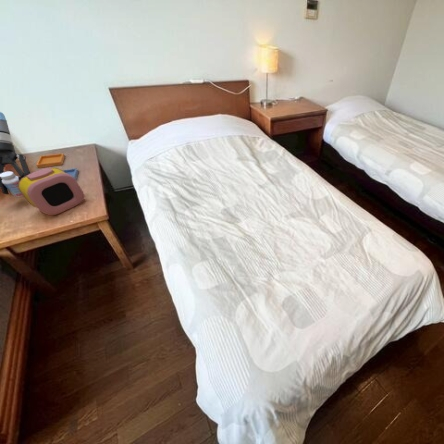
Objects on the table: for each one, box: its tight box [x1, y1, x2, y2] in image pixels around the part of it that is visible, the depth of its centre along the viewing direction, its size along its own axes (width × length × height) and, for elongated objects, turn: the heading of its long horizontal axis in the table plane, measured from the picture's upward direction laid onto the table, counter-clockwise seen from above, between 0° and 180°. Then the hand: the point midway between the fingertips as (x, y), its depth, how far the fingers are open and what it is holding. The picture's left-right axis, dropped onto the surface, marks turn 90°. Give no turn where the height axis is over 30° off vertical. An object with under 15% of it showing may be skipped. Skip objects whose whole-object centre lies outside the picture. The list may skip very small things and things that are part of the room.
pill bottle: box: [0, 170, 24, 198], centre depth 116 cm, size 6×6×11 cm
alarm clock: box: [18, 167, 85, 216], centre depth 117 cm, size 18×11×19 cm, turn 151°
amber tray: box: [35, 152, 66, 169], centre depth 150 cm, size 11×11×2 cm
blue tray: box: [62, 167, 79, 181], centre depth 139 cm, size 11×11×2 cm
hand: (15, 192), depth 116 cm, fingers closed on pill bottle, 6 cm apart
